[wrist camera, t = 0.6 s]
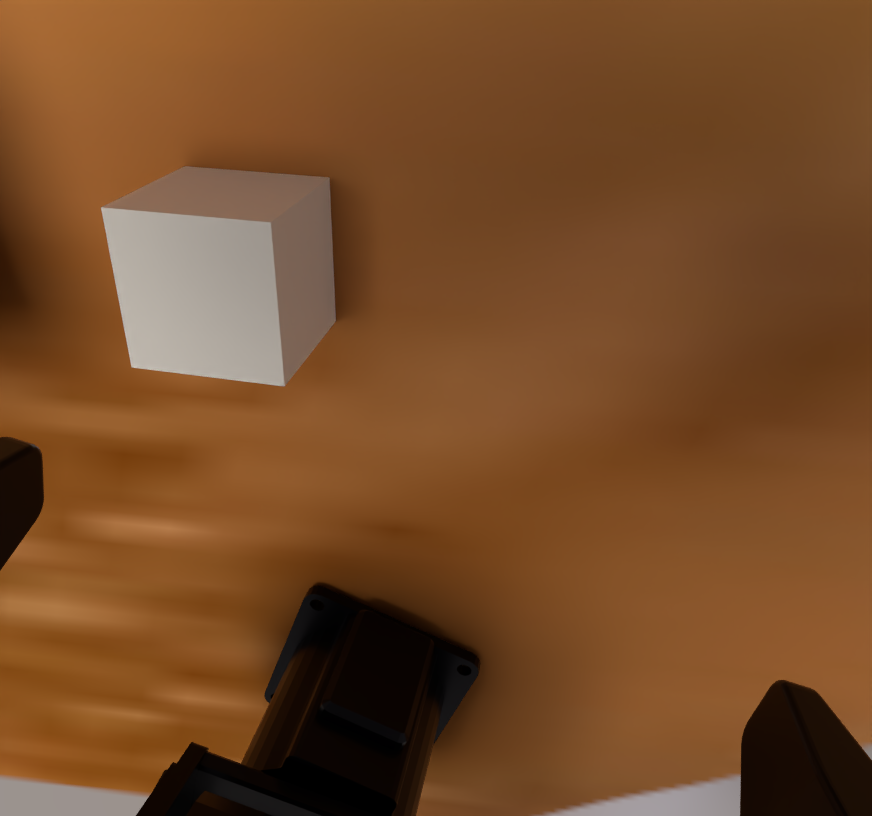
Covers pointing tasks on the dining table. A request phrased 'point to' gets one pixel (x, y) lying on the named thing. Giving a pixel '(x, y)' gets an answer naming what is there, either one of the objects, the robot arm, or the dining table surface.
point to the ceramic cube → (224, 272)
